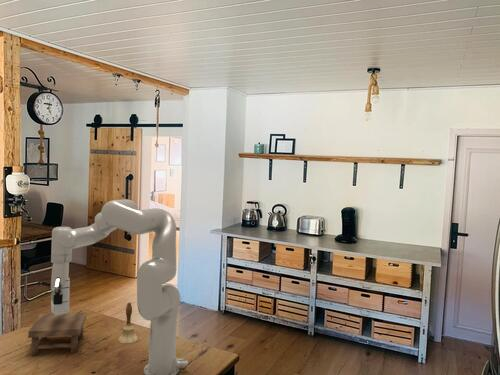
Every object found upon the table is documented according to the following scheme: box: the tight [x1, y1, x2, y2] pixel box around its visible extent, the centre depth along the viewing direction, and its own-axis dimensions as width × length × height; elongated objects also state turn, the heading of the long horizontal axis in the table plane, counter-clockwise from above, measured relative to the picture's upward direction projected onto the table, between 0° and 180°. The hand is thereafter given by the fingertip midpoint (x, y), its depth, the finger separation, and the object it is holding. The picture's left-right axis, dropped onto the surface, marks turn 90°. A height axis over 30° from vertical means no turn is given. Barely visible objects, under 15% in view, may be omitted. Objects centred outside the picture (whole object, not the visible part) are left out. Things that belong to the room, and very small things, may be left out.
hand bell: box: [117, 302, 139, 345], centre depth 169 cm, size 8×8×16 cm
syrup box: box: [50, 276, 71, 316], centre depth 160 cm, size 6×6×14 cm
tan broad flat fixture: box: [27, 312, 87, 357], centre depth 161 cm, size 18×18×10 cm
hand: (60, 300), depth 160 cm, fingers closed on syrup box, 7 cm apart
